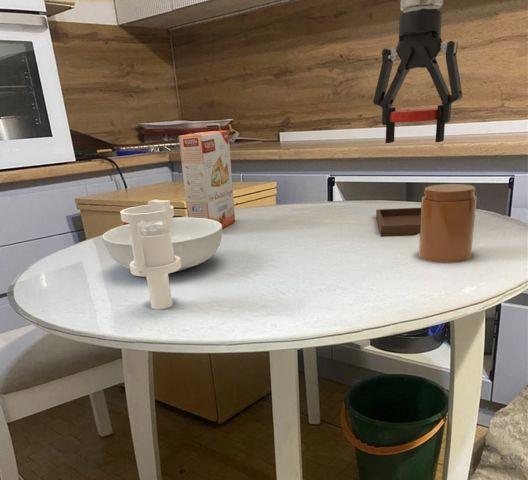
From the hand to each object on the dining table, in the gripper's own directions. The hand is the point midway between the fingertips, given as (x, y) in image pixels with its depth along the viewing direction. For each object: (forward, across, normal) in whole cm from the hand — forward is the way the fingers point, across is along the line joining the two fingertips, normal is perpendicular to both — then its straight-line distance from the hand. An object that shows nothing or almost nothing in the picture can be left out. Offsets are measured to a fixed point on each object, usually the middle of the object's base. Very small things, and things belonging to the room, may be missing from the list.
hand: (414, 142), depth 107 cm
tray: (+17, 0, 0) cm, 17 cm away
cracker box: (+17, -42, -15) cm, 48 cm away
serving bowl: (+17, -29, -44) cm, 55 cm away
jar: (+17, +14, -22) cm, 31 cm away
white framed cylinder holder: (+17, -15, -60) cm, 64 cm away
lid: (-5, 0, 0) cm, 5 cm away
